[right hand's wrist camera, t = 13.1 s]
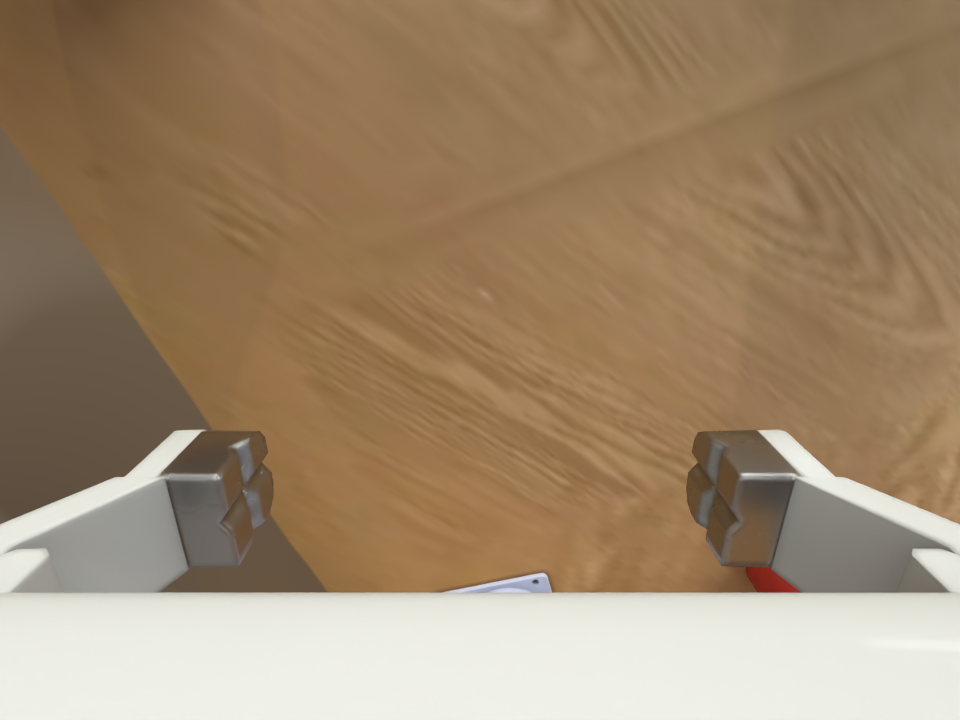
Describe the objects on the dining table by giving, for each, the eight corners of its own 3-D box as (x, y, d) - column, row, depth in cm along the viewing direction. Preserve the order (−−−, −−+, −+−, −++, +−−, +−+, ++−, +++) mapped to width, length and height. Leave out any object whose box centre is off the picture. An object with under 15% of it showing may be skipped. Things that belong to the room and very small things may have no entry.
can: (735, 579, 42) (764, 629, 38) (764, 534, 40) (796, 581, 36) (788, 592, 42) (822, 643, 38) (818, 548, 41) (857, 596, 36)
